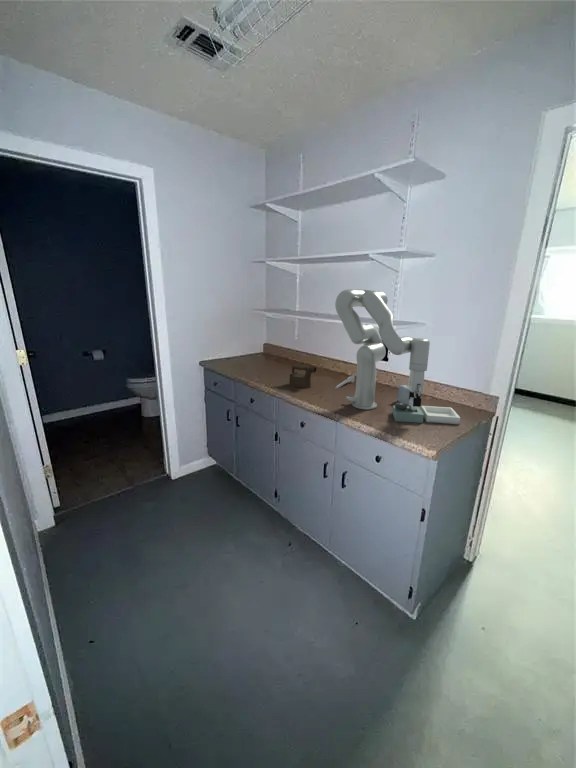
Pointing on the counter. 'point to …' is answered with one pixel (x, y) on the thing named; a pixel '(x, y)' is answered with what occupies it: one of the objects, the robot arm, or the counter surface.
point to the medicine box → (403, 394)
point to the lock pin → (411, 407)
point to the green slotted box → (406, 413)
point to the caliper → (346, 381)
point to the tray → (440, 415)
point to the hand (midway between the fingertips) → (414, 402)
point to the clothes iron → (301, 377)
